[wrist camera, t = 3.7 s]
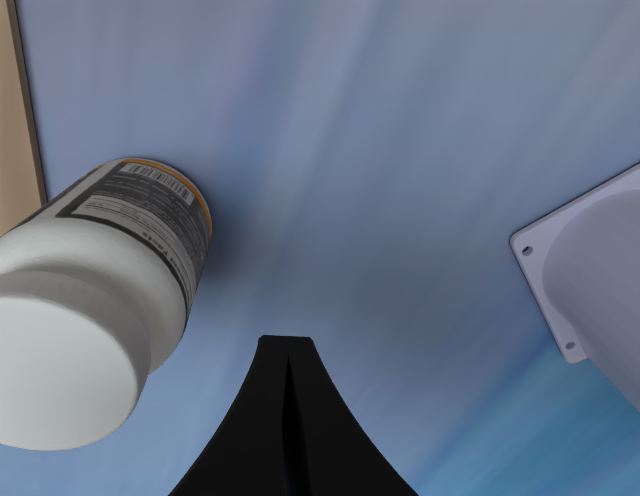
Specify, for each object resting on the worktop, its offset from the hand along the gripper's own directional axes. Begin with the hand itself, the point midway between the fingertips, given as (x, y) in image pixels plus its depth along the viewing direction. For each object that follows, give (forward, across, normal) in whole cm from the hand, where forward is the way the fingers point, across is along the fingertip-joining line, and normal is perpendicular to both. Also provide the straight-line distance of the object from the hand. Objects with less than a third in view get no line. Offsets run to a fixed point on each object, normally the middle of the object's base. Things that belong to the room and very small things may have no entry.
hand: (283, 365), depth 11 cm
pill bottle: (+9, +6, 0) cm, 11 cm away
